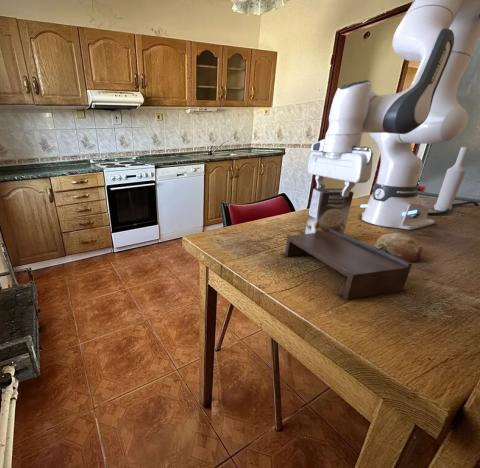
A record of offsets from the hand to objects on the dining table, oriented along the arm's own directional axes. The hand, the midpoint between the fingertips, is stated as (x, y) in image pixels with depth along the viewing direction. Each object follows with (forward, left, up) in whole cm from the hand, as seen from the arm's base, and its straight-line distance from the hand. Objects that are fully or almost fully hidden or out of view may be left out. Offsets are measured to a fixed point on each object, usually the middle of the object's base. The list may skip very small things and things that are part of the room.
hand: (331, 193), depth 79 cm
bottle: (-68, -14, -15) cm, 71 cm away
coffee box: (0, 0, -15) cm, 15 cm away
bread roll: (-11, +15, -15) cm, 24 cm away
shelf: (+12, +19, -15) cm, 27 cm away
